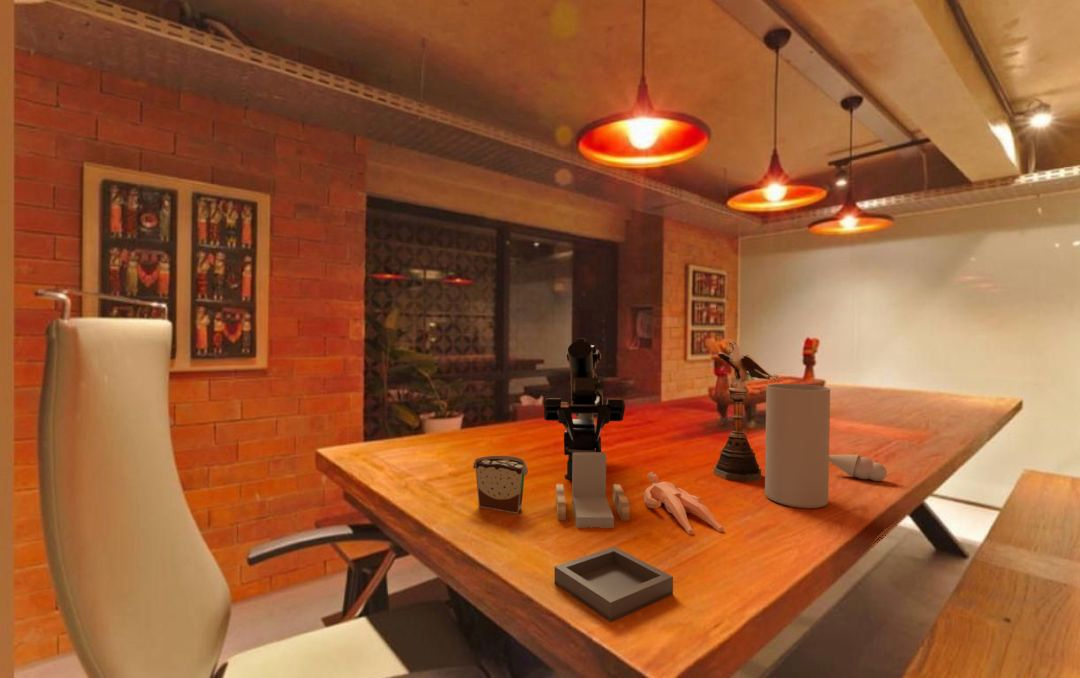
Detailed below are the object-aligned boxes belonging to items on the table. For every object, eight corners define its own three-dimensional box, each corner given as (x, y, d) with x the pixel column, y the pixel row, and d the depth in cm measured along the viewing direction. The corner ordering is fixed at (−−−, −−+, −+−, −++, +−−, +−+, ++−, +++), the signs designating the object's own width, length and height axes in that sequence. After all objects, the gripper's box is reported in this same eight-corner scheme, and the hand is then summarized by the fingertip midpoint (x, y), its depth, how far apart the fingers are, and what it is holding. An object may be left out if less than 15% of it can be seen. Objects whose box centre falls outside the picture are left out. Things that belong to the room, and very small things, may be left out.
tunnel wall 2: (612, 499, 111) (612, 484, 111) (619, 499, 111) (619, 484, 111) (621, 520, 99) (621, 502, 99) (629, 520, 99) (629, 502, 99)
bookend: (572, 502, 109) (572, 452, 109) (604, 502, 109) (604, 452, 109) (576, 527, 96) (577, 469, 95) (613, 527, 96) (614, 470, 95)
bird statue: (749, 463, 142) (750, 338, 141) (786, 476, 129) (788, 340, 129) (700, 469, 136) (701, 339, 135) (734, 483, 124) (736, 340, 123)
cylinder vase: (834, 499, 112) (836, 387, 112) (819, 514, 103) (821, 392, 103) (775, 487, 121) (777, 382, 120) (756, 499, 112) (757, 387, 111)
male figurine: (680, 519, 92) (628, 470, 116) (679, 545, 92) (627, 491, 117) (733, 515, 94) (671, 467, 118) (731, 540, 95) (670, 488, 119)
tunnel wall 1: (555, 499, 111) (556, 483, 111) (562, 499, 111) (562, 483, 111) (557, 520, 99) (558, 502, 99) (565, 520, 99) (565, 502, 99)
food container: (537, 505, 108) (538, 458, 107) (524, 515, 102) (525, 465, 102) (487, 497, 113) (487, 452, 112) (472, 505, 107) (472, 458, 107)
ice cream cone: (816, 470, 135) (883, 491, 126) (815, 459, 131) (884, 480, 121) (823, 450, 137) (889, 469, 128) (822, 439, 133) (890, 458, 124)
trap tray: (614, 561, 82) (614, 546, 81) (672, 594, 72) (673, 576, 72) (554, 583, 75) (554, 566, 75) (610, 621, 65) (610, 602, 65)
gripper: (544, 364, 119) (543, 419, 108) (624, 364, 118) (631, 420, 107) (544, 393, 127) (543, 447, 116) (619, 393, 126) (625, 448, 116)
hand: (585, 440), depth 114 cm, fingers open, 5 cm apart
